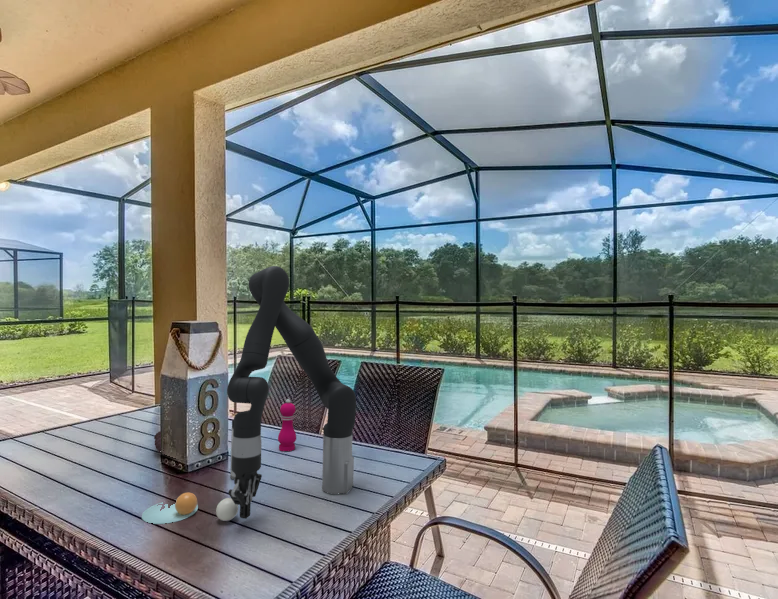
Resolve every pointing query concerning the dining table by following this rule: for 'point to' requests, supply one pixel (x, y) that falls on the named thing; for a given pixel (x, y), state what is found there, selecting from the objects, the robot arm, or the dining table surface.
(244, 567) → the dining table surface
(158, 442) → the pine cone
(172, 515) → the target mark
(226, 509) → the cue ball
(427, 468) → the dining table surface
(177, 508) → the object ball
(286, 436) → the pepper mill
